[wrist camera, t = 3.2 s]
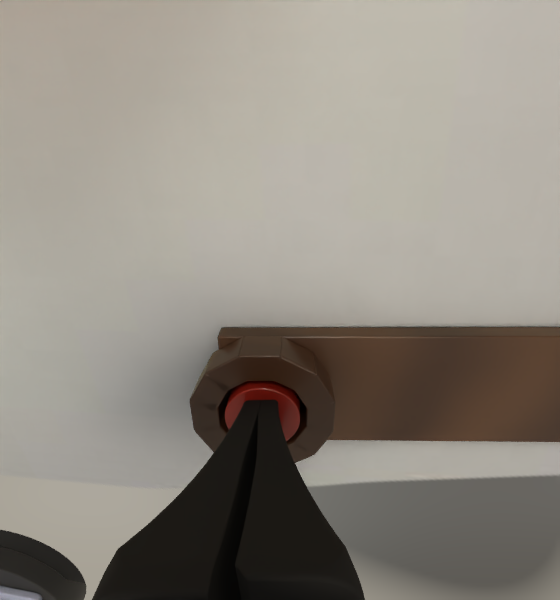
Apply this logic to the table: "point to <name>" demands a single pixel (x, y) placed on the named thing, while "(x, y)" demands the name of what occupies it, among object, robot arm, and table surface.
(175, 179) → the table surface
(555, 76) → the table surface
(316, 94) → the table surface
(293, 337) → the brown board with ring
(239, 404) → the power button
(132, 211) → the table surface
